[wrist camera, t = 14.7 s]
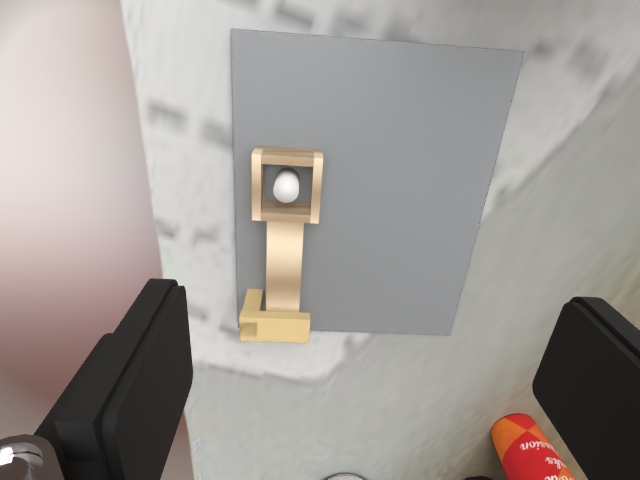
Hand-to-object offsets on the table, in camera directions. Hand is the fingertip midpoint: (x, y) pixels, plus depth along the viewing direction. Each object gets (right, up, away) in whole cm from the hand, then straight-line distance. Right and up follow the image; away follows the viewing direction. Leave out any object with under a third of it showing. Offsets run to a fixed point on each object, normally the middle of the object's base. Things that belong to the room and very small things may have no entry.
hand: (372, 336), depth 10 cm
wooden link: (-4, +3, +27) cm, 27 cm away
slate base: (+2, +6, +27) cm, 27 cm away
